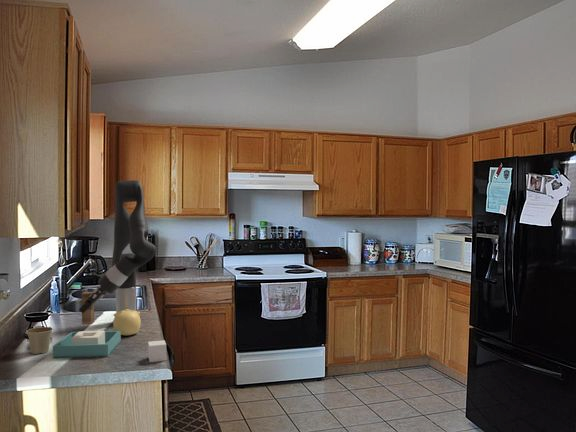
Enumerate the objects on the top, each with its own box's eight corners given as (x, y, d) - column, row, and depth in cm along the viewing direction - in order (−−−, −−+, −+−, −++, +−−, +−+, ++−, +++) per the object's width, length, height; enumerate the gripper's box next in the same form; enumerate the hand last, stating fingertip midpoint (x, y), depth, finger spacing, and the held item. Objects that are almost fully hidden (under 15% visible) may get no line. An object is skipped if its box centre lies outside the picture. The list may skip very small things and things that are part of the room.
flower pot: (56, 347, 203) (56, 326, 203) (49, 354, 194) (49, 332, 194) (31, 349, 202) (30, 327, 201) (23, 356, 192) (22, 333, 192)
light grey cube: (164, 355, 192) (164, 340, 192) (166, 360, 186) (166, 344, 186) (148, 357, 190) (148, 341, 190) (149, 362, 184) (149, 346, 184)
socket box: (71, 343, 210) (70, 328, 209) (120, 341, 211) (120, 327, 211) (53, 358, 190) (52, 342, 189) (108, 356, 191) (107, 340, 191)
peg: (85, 322, 202) (84, 292, 201) (94, 322, 202) (93, 291, 202) (82, 324, 198) (81, 293, 198) (91, 324, 199) (90, 293, 198)
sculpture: (140, 329, 231) (140, 306, 230) (141, 336, 219) (140, 311, 219) (113, 331, 227) (113, 307, 227) (113, 338, 216) (112, 313, 216)
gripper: (111, 269, 207) (81, 300, 207) (101, 274, 193) (69, 307, 192) (124, 282, 208) (94, 312, 207) (116, 288, 194) (84, 321, 193)
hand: (82, 310), depth 200 cm, fingers closed on peg, 3 cm apart
